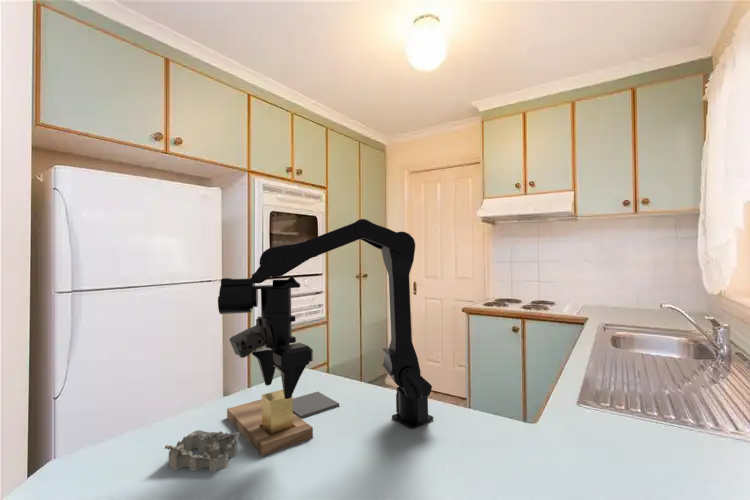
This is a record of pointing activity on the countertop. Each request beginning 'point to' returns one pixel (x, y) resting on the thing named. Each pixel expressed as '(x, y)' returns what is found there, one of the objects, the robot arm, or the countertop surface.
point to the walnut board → (250, 427)
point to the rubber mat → (312, 404)
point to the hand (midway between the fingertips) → (277, 391)
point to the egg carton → (204, 450)
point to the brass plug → (276, 412)
